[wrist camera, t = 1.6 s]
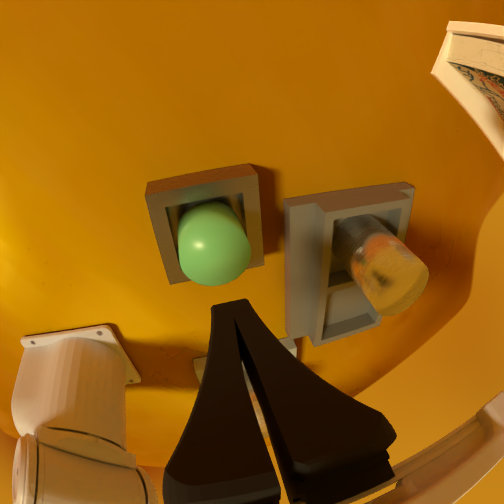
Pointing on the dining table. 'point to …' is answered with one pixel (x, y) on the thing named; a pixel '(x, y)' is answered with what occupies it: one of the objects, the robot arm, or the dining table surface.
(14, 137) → the dining table surface
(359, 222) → the seated billet
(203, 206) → the button
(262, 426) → the cylinder
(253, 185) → the button housing
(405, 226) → the grey pocketed tray
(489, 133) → the cigarette display
